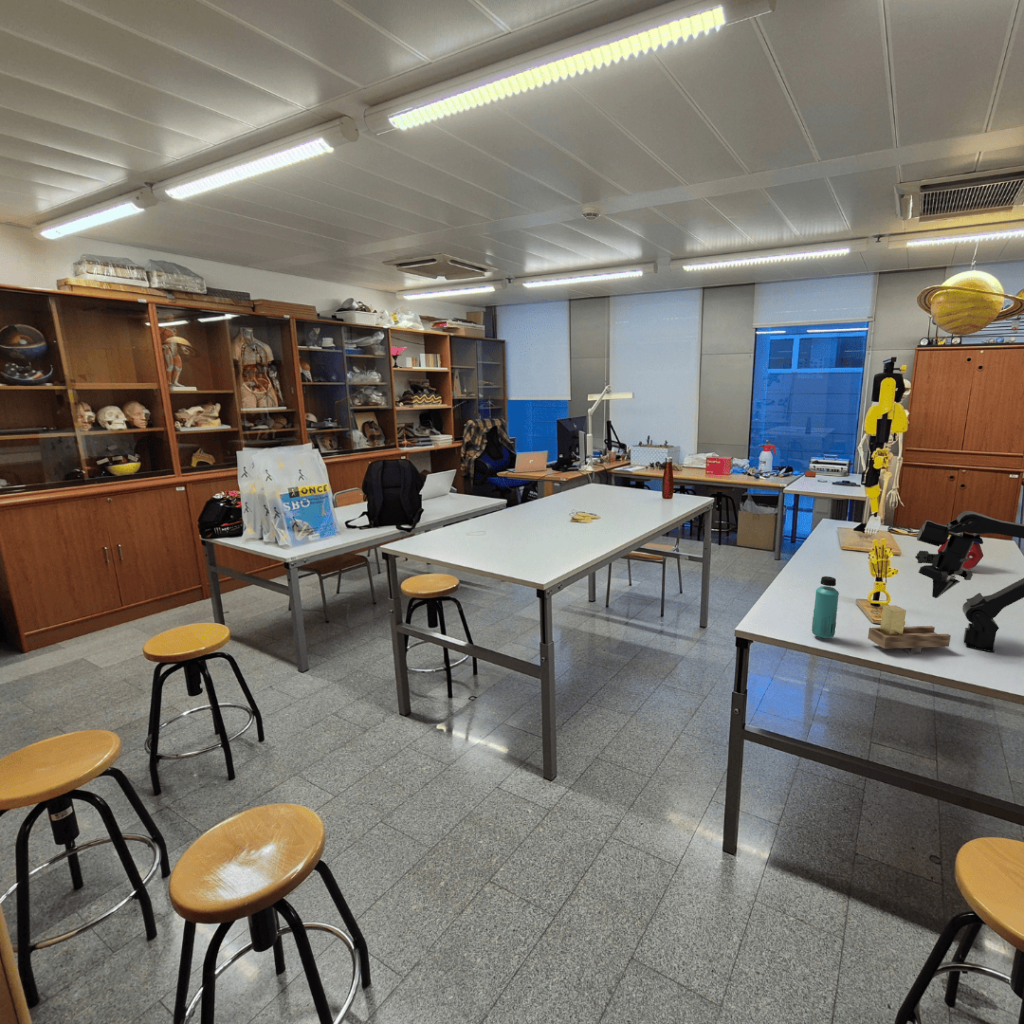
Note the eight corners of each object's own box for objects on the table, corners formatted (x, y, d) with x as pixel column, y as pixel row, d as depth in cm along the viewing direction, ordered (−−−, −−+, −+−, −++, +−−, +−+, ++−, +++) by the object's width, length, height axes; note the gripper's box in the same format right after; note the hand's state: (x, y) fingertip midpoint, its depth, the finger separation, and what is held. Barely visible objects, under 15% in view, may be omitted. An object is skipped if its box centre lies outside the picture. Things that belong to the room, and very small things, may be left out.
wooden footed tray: (929, 642, 170) (931, 625, 169) (947, 652, 164) (950, 635, 162) (866, 644, 169) (869, 627, 168) (883, 654, 162) (885, 637, 161)
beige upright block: (888, 631, 169) (892, 603, 167) (905, 640, 162) (909, 612, 160) (876, 632, 168) (880, 604, 167) (892, 641, 162) (896, 612, 160)
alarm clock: (981, 572, 240) (988, 527, 236) (973, 575, 235) (981, 530, 231) (940, 564, 252) (946, 521, 248) (932, 567, 247) (939, 523, 243)
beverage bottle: (831, 644, 169) (838, 582, 165) (807, 638, 174) (814, 577, 170) (836, 637, 174) (843, 577, 170) (813, 632, 178) (819, 572, 174)
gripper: (944, 541, 178) (924, 584, 182) (911, 540, 169) (891, 586, 174) (983, 555, 168) (961, 600, 173) (950, 556, 160) (928, 603, 165)
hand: (934, 597), depth 171 cm, fingers closed
